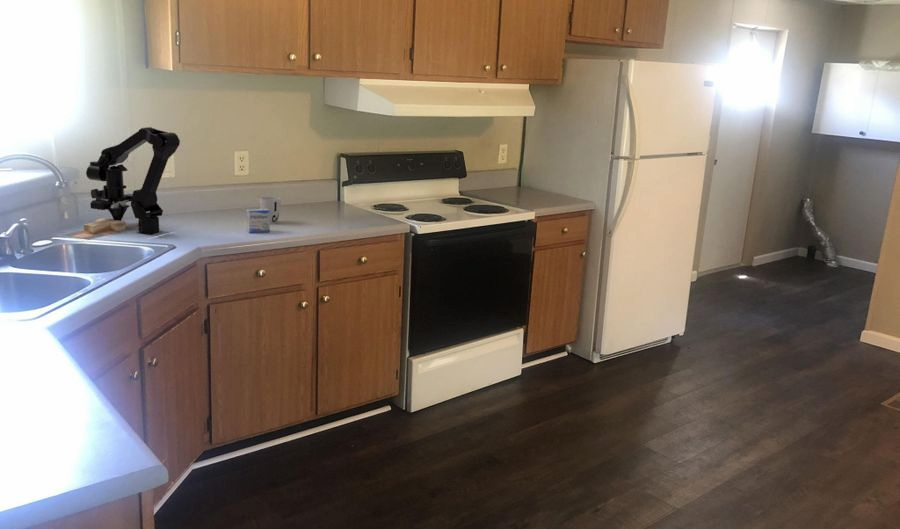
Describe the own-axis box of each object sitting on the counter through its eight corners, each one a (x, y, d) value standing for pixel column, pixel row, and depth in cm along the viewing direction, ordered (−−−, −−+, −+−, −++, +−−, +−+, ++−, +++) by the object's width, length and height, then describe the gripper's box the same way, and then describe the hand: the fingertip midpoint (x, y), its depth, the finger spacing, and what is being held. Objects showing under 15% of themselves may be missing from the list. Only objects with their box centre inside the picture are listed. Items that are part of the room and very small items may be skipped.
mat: (144, 227, 272) (144, 225, 271) (89, 241, 247) (88, 239, 247) (119, 223, 275) (118, 221, 275) (61, 236, 251) (61, 235, 251)
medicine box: (249, 233, 272) (248, 210, 269) (246, 230, 275) (246, 208, 273) (269, 232, 275) (269, 210, 273) (267, 229, 279) (266, 207, 277)
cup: (275, 225, 287) (275, 200, 284) (256, 223, 288) (256, 198, 286) (283, 221, 295) (283, 197, 292) (265, 219, 296) (265, 195, 293)
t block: (125, 229, 264) (125, 221, 263) (99, 235, 253) (98, 227, 252) (104, 225, 267) (103, 218, 267) (77, 231, 257) (77, 223, 256)
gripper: (117, 177, 274) (119, 217, 278) (76, 183, 257) (80, 226, 261) (140, 180, 270) (142, 221, 274) (101, 187, 253) (104, 230, 257)
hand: (117, 224), depth 267 cm, fingers closed
